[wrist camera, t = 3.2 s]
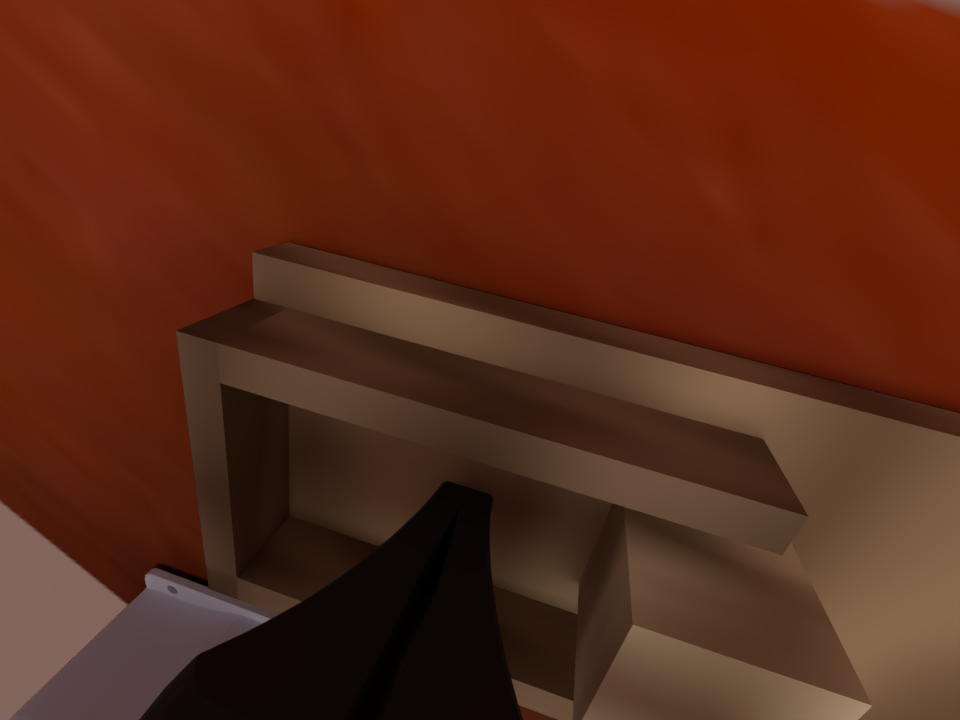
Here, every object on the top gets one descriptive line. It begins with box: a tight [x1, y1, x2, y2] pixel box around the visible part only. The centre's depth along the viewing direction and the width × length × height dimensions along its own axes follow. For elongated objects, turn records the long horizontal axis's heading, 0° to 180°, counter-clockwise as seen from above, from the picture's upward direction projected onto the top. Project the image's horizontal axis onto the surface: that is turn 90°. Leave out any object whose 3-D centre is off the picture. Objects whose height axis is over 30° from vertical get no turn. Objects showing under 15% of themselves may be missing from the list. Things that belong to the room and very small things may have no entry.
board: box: [252, 242, 960, 720], centre depth 12 cm, size 28×14×4 cm, turn 79°
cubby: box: [176, 299, 809, 720], centre depth 12 cm, size 13×8×2 cm, turn 79°
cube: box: [573, 504, 872, 720], centre depth 10 cm, size 4×4×4 cm
